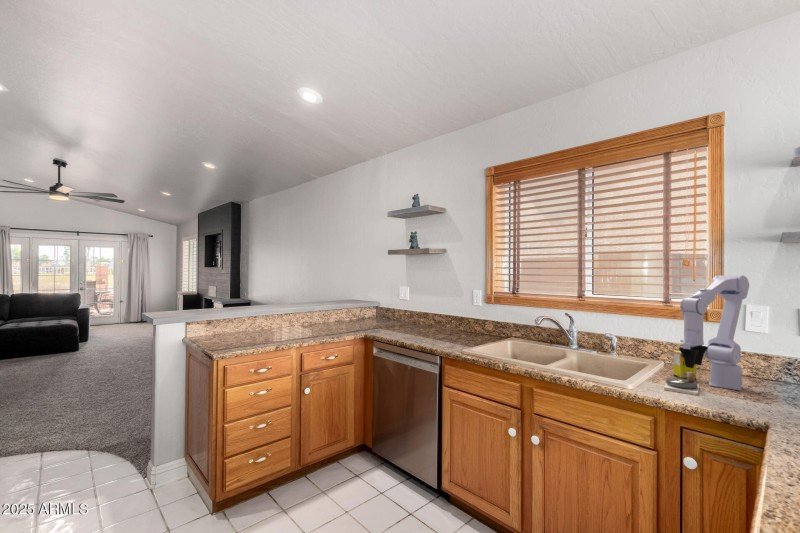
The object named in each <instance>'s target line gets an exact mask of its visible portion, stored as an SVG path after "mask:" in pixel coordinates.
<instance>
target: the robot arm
mask: <svg viewBox="0 0 800 533" xmlns="http://www.w3.org/2000/svg"><path fill="white" fill-rule="evenodd" d="M749 288H750V281H749V279H748V277H746V276H745V275H720V274H718V275H715V276H714V277H712V281H711V284H710V285H709V286H708V287H707V288H699V290H698V291H697V292H696V293H694V294H693V295H691V296H690V297H686V298H682V300H681V301H680V305H679V308H680V311H681V315H682V318H683V339H680V340H679V341H680V343H682V346H680V347H679V348H678V351H681V353H682V355H683V358H684V361H685V365H686V367H689V368H694V364H696V366H701V365H702V363H703V359H704V356H705V358H706V359H707V360H708V362H709V363H710V368H709V370H710V373H709V375H710V377H709V378H710V379H709V381H708V386H709V387H716V388H723V389H729V390H737V391H742V386H743V380H742V366H741V365H740V364H739V365H738V363H740V361H741V358H742V357H741V356H742V355H741V349H742V347H741V346H740V345H739V344H738V343H737V342H736V341H734V338H735V335H736V329H737V327H738V326H737V325H738V320H739V316H740V313H741V308H742V303H743V300H745V299H747V297H748V295H749ZM717 295H718V296H719V297H720V298H722V299H723V300H724V303H723V304H724V305H723V309H722V313H721V317H720V321H719V325H718V330H717V333H716V337H713V338H710V339H709V340H708V342H707V344H706V345H705V342H704V314H706V313H707V310H708V307H709V305H711V304H712V303H713V302H714V301H715V300H716V296H717Z"/></svg>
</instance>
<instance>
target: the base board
mask: <svg viewBox="0 0 800 533" xmlns="http://www.w3.org/2000/svg"><path fill="white" fill-rule="evenodd" d="M663 389H664V391H670V392H675V393H682V394H687V395H693V396H699V389H700V384H698V388H697V389H684V388H678V387H674V386H671V385H668V384H667V383H666V382H665V384H664V387H663Z"/></svg>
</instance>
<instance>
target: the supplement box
mask: <svg viewBox="0 0 800 533" xmlns="http://www.w3.org/2000/svg"><path fill="white" fill-rule="evenodd" d="M672 352H673V377H675V378H683V379H687V372H693V373H695V381H696V380H697V365H696V364H694V368H689V367H686V365H685V361H684V358H683V355H682V353H681V351H680V350H673V351H672Z"/></svg>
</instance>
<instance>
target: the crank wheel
mask: <svg viewBox="0 0 800 533" xmlns="http://www.w3.org/2000/svg"><path fill="white" fill-rule="evenodd" d="M665 381H666V382H665V384H666V383H667V384H668V385H671V386H674V387H678V388H684V389H697V388H698V385H699V384H698V382H697V381H696V380H695V373H693V372H687V379H683V378H678V377H667V378H666V380H665Z"/></svg>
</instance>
